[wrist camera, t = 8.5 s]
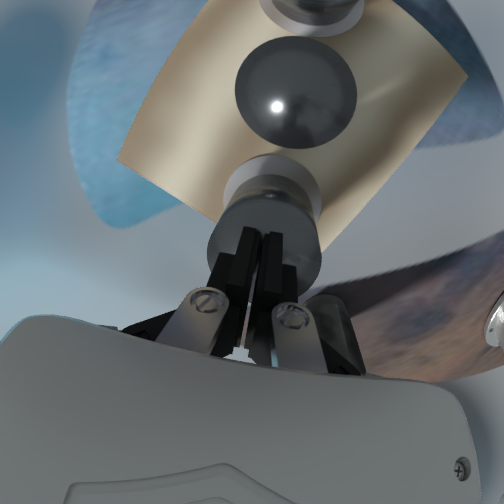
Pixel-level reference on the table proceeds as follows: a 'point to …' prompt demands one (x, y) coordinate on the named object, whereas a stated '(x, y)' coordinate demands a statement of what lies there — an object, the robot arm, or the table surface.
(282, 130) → the knob mid
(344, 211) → the mount plate
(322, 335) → the beverage cup
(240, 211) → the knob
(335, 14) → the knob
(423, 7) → the table surface
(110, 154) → the table surface
